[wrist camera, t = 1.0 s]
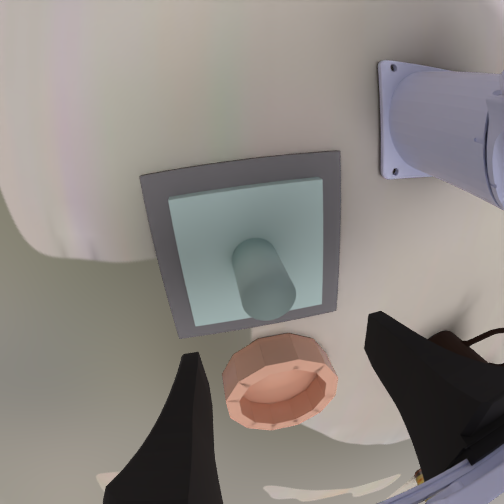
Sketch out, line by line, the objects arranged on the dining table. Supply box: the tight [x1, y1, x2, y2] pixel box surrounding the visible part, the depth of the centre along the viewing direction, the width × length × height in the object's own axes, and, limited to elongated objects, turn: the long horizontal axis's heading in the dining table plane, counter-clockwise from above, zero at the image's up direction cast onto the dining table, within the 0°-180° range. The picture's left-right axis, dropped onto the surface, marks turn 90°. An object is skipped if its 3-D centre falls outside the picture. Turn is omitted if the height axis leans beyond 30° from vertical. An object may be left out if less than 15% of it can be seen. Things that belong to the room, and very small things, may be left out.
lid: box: [168, 177, 323, 326], centre depth 18 cm, size 9×9×5 cm
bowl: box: [222, 333, 338, 430], centre depth 25 cm, size 9×9×3 cm
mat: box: [140, 151, 341, 339], centre depth 21 cm, size 12×12×1 cm
